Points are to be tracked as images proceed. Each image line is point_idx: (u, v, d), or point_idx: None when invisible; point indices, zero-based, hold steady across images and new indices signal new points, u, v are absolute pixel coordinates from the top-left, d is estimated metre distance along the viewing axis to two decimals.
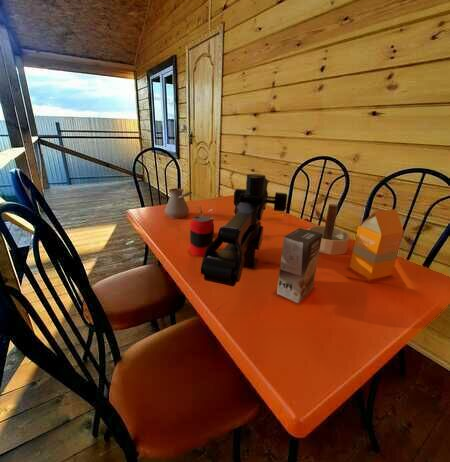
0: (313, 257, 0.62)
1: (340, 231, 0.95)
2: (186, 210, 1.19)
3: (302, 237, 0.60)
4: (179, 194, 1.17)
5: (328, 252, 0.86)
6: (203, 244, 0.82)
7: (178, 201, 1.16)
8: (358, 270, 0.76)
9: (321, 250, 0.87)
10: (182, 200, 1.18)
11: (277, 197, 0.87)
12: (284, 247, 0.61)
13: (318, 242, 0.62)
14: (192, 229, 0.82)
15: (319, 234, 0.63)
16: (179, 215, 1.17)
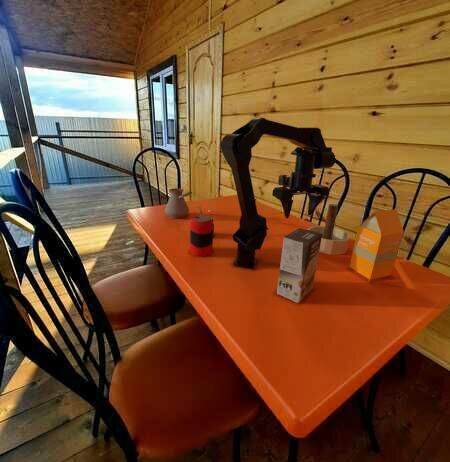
0: (313, 257, 0.62)
1: (340, 231, 0.95)
2: (186, 210, 1.19)
3: (302, 237, 0.60)
4: (179, 194, 1.17)
5: (328, 252, 0.86)
6: (203, 244, 0.82)
7: (178, 201, 1.16)
8: (358, 270, 0.76)
9: (321, 250, 0.87)
10: (182, 200, 1.18)
11: None
12: (284, 247, 0.61)
13: (318, 242, 0.62)
14: (192, 229, 0.82)
15: (319, 234, 0.63)
16: (179, 215, 1.17)
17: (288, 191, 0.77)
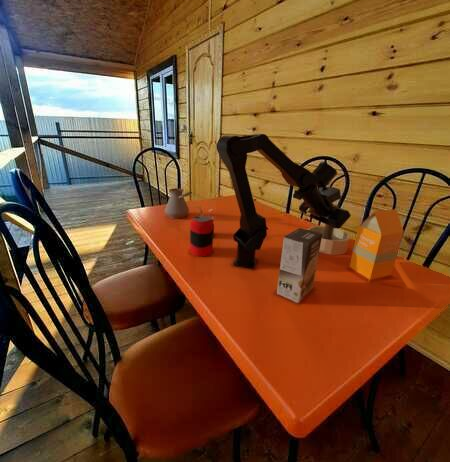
0: (313, 257, 0.62)
1: (340, 231, 0.95)
2: (186, 210, 1.19)
3: (302, 237, 0.60)
4: (179, 194, 1.17)
5: (328, 252, 0.86)
6: (203, 244, 0.82)
7: (178, 201, 1.16)
8: (358, 270, 0.76)
9: (321, 250, 0.87)
10: (182, 200, 1.18)
11: (338, 209, 0.81)
12: (284, 247, 0.61)
13: (318, 242, 0.62)
14: (192, 229, 0.82)
15: (319, 234, 0.63)
16: (179, 215, 1.17)
17: (302, 208, 0.92)
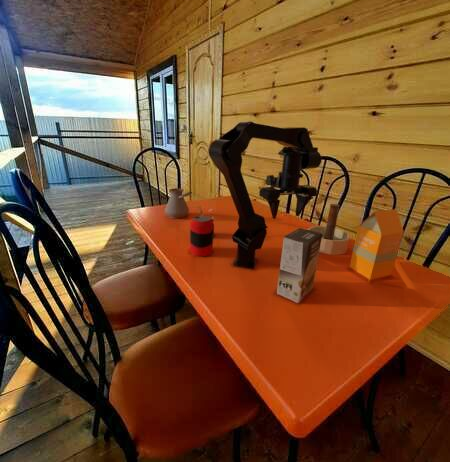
0: (313, 257, 0.62)
1: (340, 231, 0.95)
2: (186, 210, 1.19)
3: (302, 237, 0.60)
4: (179, 194, 1.17)
5: (328, 252, 0.86)
6: (203, 244, 0.82)
7: (178, 201, 1.16)
8: (358, 270, 0.76)
9: (321, 250, 0.87)
10: (182, 200, 1.18)
11: (301, 185, 0.85)
12: (284, 247, 0.61)
13: (318, 242, 0.62)
14: (192, 229, 0.82)
15: (319, 234, 0.63)
16: (179, 215, 1.17)
17: (274, 191, 0.76)
